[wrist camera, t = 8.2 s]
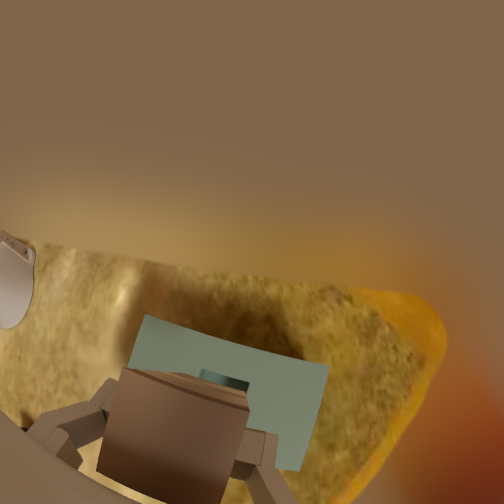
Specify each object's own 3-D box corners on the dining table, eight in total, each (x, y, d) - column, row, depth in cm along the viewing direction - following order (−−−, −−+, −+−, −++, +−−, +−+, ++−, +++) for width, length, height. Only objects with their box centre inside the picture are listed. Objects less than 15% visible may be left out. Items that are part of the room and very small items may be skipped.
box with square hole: (140, 407, 31) (113, 414, 23) (166, 327, 36) (145, 313, 28) (286, 450, 30) (299, 471, 21) (309, 368, 35) (329, 365, 26)
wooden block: (167, 427, 15) (95, 470, 6) (184, 373, 16) (122, 367, 7) (228, 446, 14) (214, 517, 5) (244, 391, 16) (250, 411, 7)
